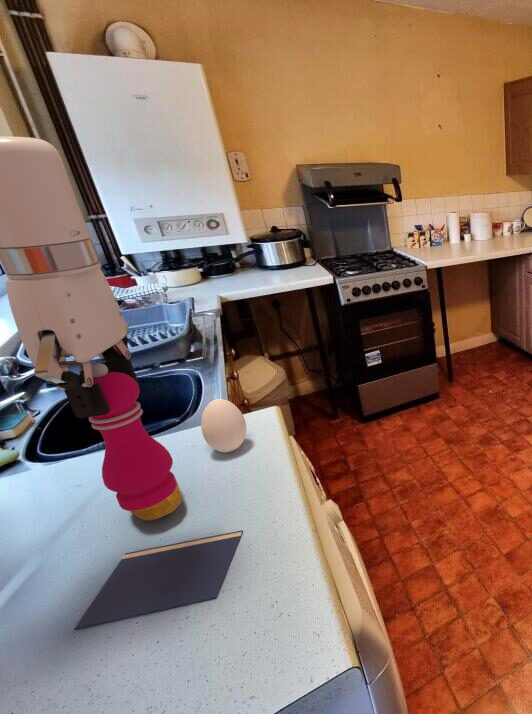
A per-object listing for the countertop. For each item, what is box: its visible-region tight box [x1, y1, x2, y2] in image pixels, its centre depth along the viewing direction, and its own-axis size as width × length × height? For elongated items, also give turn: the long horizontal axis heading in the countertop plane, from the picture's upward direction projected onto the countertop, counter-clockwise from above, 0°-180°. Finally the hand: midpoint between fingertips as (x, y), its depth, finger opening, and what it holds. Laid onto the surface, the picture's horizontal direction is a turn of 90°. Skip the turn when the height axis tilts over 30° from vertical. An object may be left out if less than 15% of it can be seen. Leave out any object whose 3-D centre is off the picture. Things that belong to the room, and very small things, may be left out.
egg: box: [200, 398, 248, 453], centre depth 88 cm, size 7×7×12 cm
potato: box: [129, 470, 183, 521], centre depth 74 cm, size 7×14×7 cm, turn 45°
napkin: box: [73, 529, 244, 631], centre depth 62 cm, size 16×12×1 cm
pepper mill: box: [88, 362, 178, 512], centre depth 57 cm, size 7×7×20 cm
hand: (110, 400), depth 55 cm, fingers closed on pepper mill, 6 cm apart
